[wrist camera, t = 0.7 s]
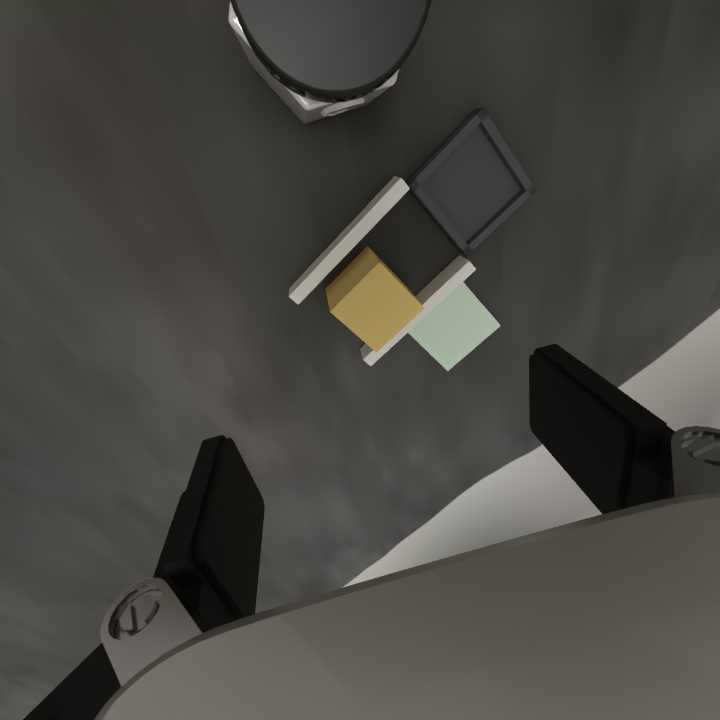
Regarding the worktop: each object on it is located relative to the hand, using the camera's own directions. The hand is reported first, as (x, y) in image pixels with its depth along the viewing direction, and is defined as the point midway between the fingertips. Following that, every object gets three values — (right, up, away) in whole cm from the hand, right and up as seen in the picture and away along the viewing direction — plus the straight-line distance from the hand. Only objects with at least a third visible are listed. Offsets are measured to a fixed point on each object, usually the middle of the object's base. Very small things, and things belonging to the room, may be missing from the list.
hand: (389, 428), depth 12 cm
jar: (-4, +23, +13) cm, 26 cm away
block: (0, +8, +21) cm, 23 cm away
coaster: (+8, +5, +24) cm, 26 cm away
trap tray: (+8, +16, +18) cm, 25 cm away
